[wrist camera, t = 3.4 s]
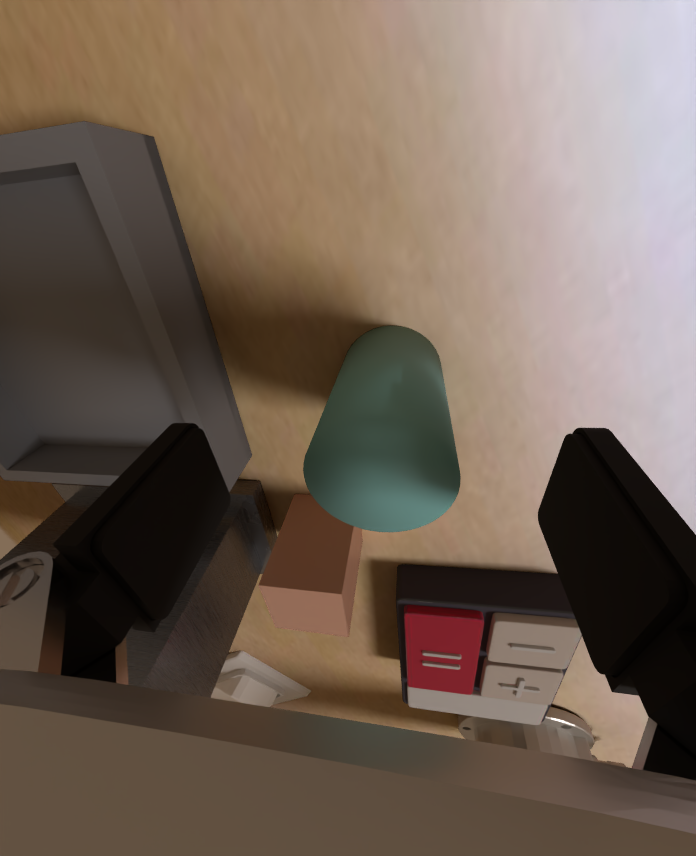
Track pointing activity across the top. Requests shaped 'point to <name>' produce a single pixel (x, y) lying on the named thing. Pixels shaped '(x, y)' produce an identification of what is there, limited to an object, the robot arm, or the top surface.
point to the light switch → (254, 682)
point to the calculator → (483, 641)
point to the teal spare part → (385, 436)
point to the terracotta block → (312, 570)
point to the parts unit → (185, 590)
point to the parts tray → (100, 312)
